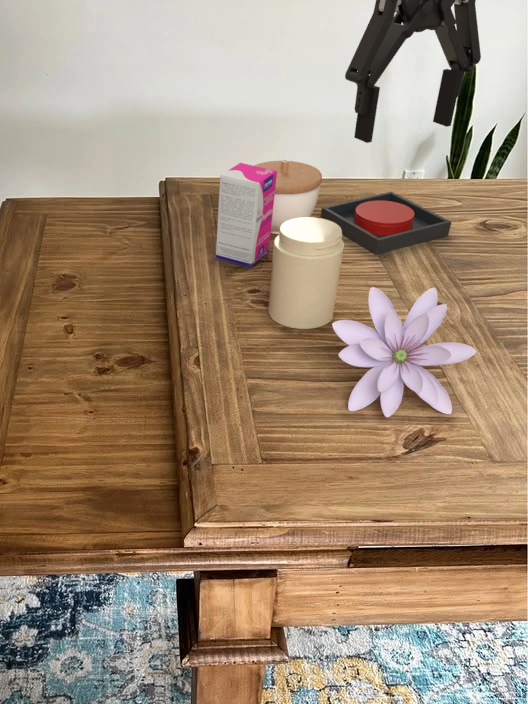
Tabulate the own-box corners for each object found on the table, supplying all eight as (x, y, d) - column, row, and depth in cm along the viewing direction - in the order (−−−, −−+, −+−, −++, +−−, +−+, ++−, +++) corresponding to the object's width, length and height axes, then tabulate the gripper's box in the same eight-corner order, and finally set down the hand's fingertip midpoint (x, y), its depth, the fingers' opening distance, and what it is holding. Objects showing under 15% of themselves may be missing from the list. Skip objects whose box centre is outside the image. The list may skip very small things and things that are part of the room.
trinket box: (274, 247, 104) (280, 180, 98) (229, 222, 111) (231, 158, 104) (330, 229, 108) (339, 164, 102) (283, 206, 115) (289, 144, 109)
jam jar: (346, 319, 89) (361, 235, 82) (291, 335, 86) (301, 249, 79) (308, 291, 94) (318, 210, 87) (255, 306, 92) (262, 223, 84)
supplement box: (252, 268, 99) (258, 183, 91) (214, 259, 101) (216, 174, 94) (271, 252, 103) (278, 168, 95) (233, 243, 105) (237, 161, 97)
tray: (448, 235, 106) (451, 221, 105) (375, 254, 102) (378, 240, 100) (388, 204, 115) (391, 191, 114) (319, 221, 111) (321, 207, 109)
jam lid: (342, 219, 110) (344, 206, 108) (386, 208, 112) (389, 196, 111) (377, 240, 104) (380, 227, 103) (423, 228, 107) (426, 216, 105)
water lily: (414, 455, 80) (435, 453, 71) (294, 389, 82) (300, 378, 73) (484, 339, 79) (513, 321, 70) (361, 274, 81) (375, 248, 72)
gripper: (493, -72, 92) (453, 111, 106) (330, -58, 84) (310, 139, 98) (540, -68, 87) (492, 124, 101) (372, -52, 78) (345, 154, 92)
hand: (403, 132), depth 99 cm, fingers open, 13 cm apart
